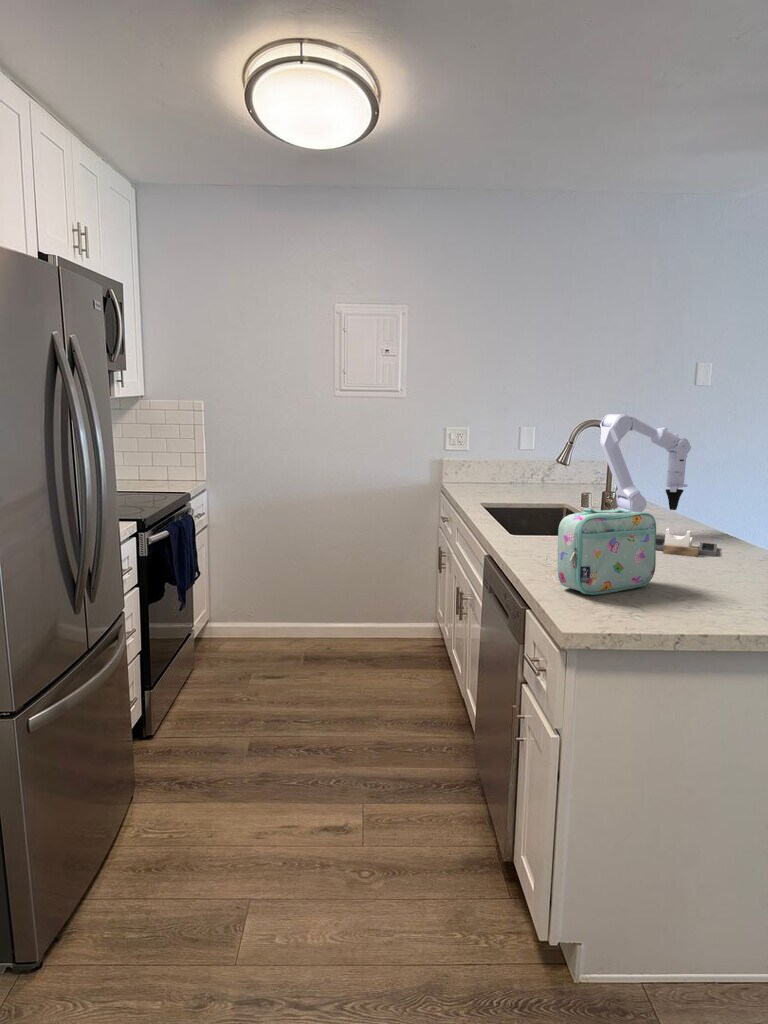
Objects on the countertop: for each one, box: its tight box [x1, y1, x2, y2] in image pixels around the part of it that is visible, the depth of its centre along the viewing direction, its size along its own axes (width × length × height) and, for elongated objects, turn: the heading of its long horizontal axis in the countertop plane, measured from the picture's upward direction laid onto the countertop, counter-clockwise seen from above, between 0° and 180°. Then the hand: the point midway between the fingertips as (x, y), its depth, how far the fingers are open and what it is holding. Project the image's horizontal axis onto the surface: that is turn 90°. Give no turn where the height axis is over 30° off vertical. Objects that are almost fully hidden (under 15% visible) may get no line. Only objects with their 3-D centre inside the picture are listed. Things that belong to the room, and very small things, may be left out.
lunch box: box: [557, 507, 657, 596], centre depth 172 cm, size 27×10×21 cm, turn 114°
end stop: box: [662, 545, 699, 558], centre depth 210 cm, size 10×2×2 cm, turn 63°
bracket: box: [664, 528, 694, 547], centre depth 217 cm, size 13×7×8 cm, turn 151°
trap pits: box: [656, 537, 718, 557], centre depth 218 cm, size 20×12×2 cm, turn 63°
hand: (672, 509), depth 237 cm, fingers closed
